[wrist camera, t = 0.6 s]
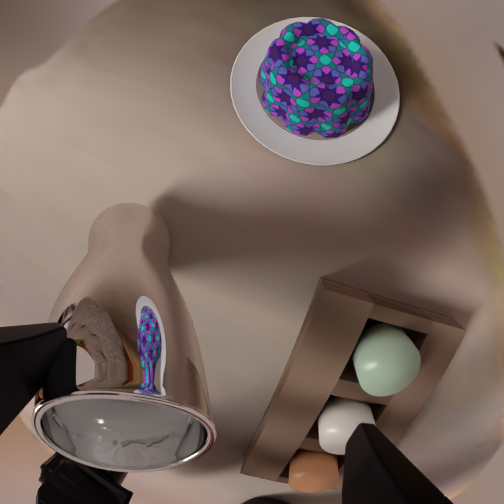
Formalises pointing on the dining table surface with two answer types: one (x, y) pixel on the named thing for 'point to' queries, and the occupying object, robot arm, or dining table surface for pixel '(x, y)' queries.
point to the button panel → (345, 375)
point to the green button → (385, 360)
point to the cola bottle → (263, 501)
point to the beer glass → (126, 356)
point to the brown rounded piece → (313, 471)
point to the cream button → (341, 422)
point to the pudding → (315, 90)
